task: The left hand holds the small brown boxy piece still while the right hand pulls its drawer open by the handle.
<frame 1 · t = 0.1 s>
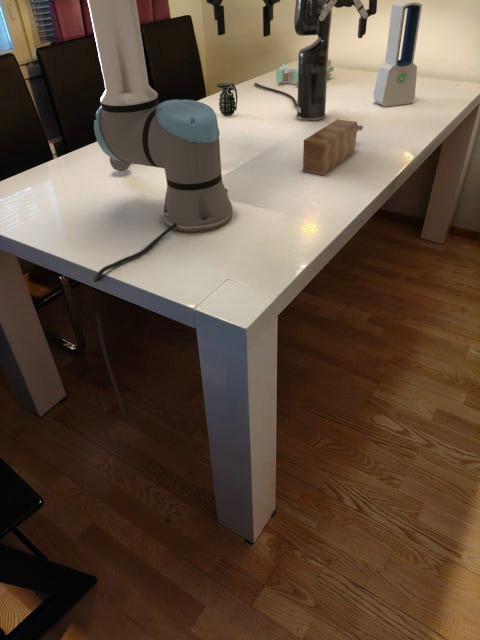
left hand: (243, 35, 129), 28 cm above the table, tool pointing down, fingers open, 13 cm apart
right hand: (340, 38, 110), 29 cm above the table, tool pointing down, fingers open, 8 cm apart
drawer: (338, 140, 131), point 4 cm above the table, slide at 0.6 cm
grenade: (228, 115, 169), on the table
molecular model: (145, 157, 140), on the table
decorative block: (304, 79, 207), on the table
electronic device: (392, 103, 172), on the table
brown boxy piece: (329, 161, 130), on the table
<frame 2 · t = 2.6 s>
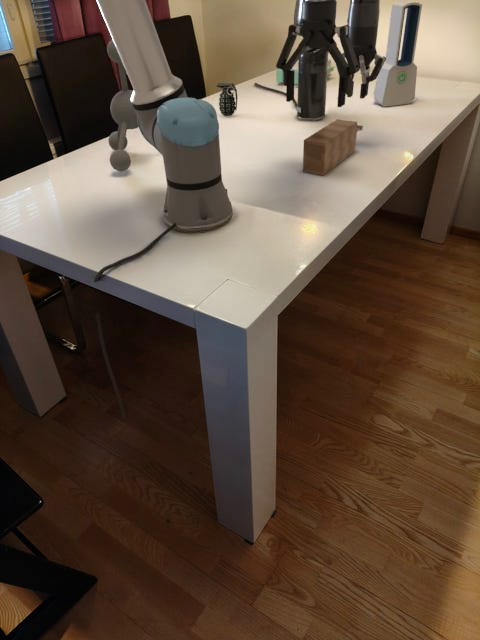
left hand: (315, 103, 119), 16 cm above the table, tool pointing down, fingers open, 13 cm apart
right hand: (356, 96, 132), 13 cm above the table, tool pointing down, fingers open, 3 cm apart
nothing on the table moved.
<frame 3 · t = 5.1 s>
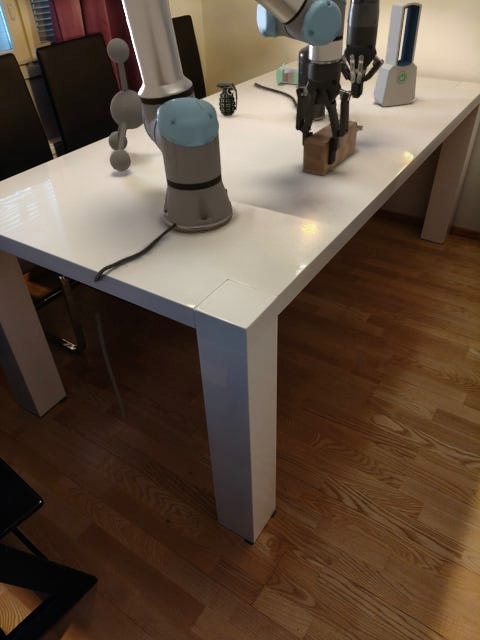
left hand: (319, 160, 125), 2 cm above the table, tool pointing down, fingers closed on brown boxy piece, 6 cm apart
right hand: (356, 97, 132), 13 cm above the table, tool pointing down, fingers closed
brown boxy piece: (329, 161, 130), on the table, touching left hand
everything else where it was.
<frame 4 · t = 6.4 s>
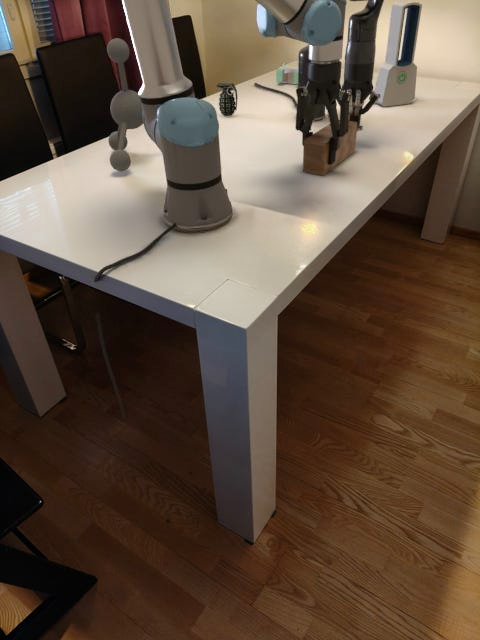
left hand: (319, 160, 125), 2 cm above the table, tool pointing down, fingers closed on brown boxy piece, 6 cm apart
right hand: (353, 128, 137), 5 cm above the table, tool pointing down, fingers closed
drawer: (338, 140, 131), point 4 cm above the table, slide at 0.6 cm, touching right hand
brown boxy piece: (329, 161, 130), on the table, touching left hand
everything else where it was.
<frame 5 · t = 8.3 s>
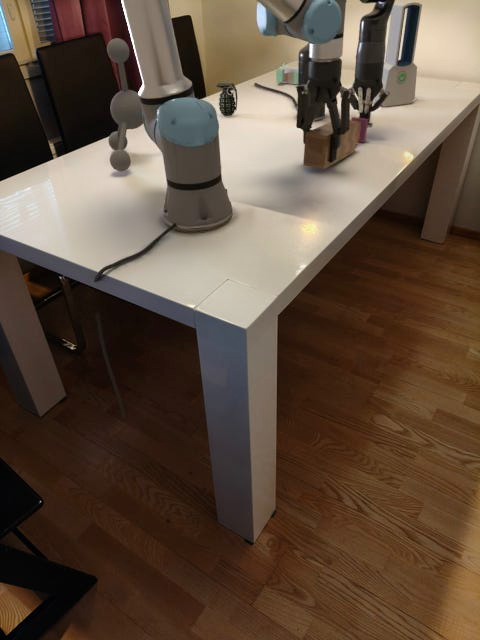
left hand: (320, 158, 125), 3 cm above the table, tool pointing down, fingers closed on brown boxy piece, 6 cm apart
right hand: (363, 125, 142), 4 cm above the table, tool pointing down, fingers closed
drawer: (350, 133, 136), point 4 cm above the table, slide at 7.6 cm, touching right hand
brown boxy piece: (329, 158, 130), point 1 cm above the table, touching left hand
everything else where it was.
when the left hand's fingers open (2 cm above the table, at t = 9.6 s): brown boxy piece stays where it is, on the table.
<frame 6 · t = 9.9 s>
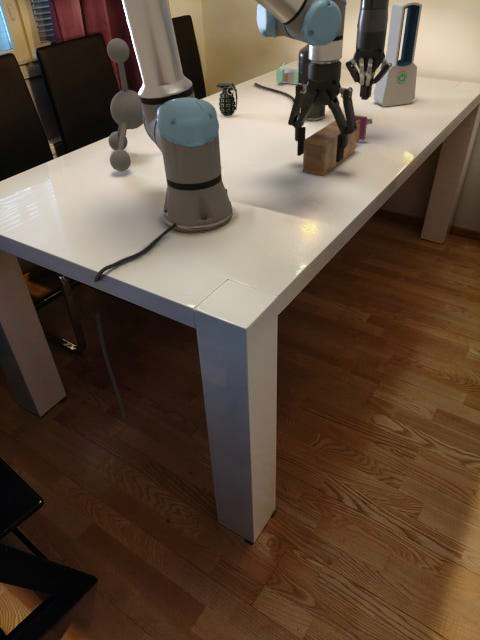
left hand: (319, 157, 125), 3 cm above the table, tool pointing down, fingers open, 10 cm apart
right hand: (364, 99, 137), 11 cm above the table, tool pointing down, fingers closed
drawer: (349, 133, 136), point 4 cm above the table, slide at 7.6 cm
brown boxy piece: (329, 161, 130), on the table
everything else where it was.
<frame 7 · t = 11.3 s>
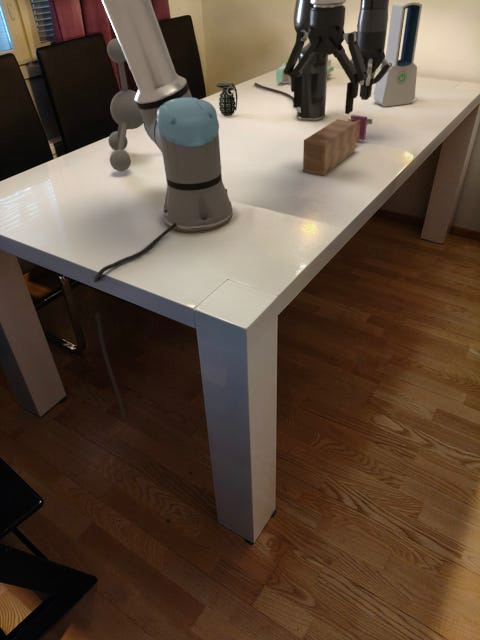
left hand: (322, 109, 118), 15 cm above the table, tool pointing down, fingers open, 13 cm apart
right hand: (364, 99, 137), 11 cm above the table, tool pointing down, fingers closed
nothing on the table moved.
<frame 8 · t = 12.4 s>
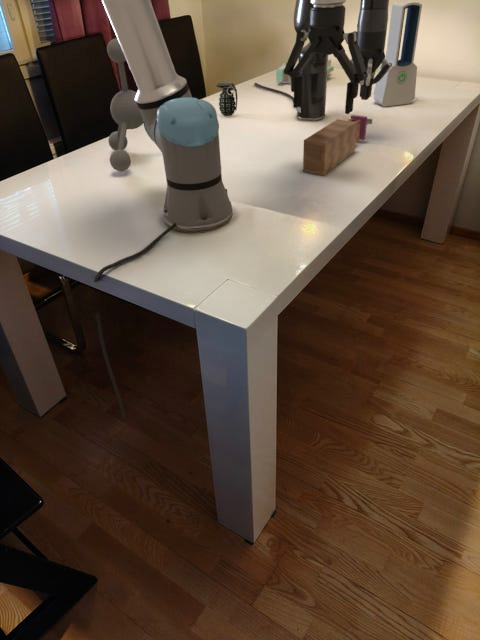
left hand: (322, 109, 118), 15 cm above the table, tool pointing down, fingers open, 13 cm apart
right hand: (364, 99, 137), 11 cm above the table, tool pointing down, fingers closed
nothing on the table moved.
at the end: drawer slide at 7.6 cm; brown boxy piece tilted 0°; brown boxy piece never tilted more than 5° during the clip; brown boxy piece moved 0.1 cm from its start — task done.
